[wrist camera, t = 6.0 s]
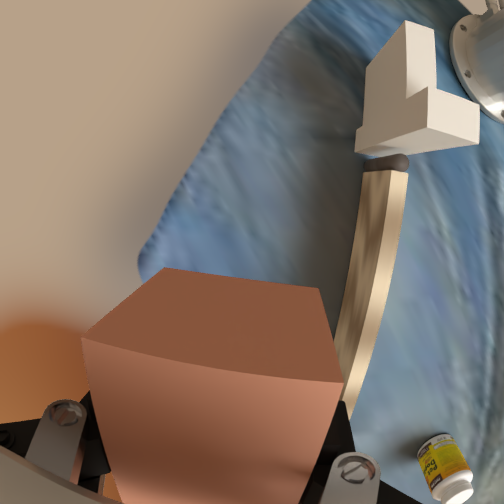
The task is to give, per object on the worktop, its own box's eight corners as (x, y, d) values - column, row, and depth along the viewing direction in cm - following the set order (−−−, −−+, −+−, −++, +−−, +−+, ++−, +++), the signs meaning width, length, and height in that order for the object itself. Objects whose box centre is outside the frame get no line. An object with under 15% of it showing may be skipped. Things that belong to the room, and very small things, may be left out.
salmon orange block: (164, 267, 10) (80, 337, 5) (318, 288, 10) (344, 383, 5) (168, 437, 12) (131, 522, 7) (280, 455, 12) (274, 550, 7)
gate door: (364, 158, 25) (393, 151, 18) (378, 160, 25) (410, 155, 18) (318, 398, 30) (325, 445, 23) (329, 399, 30) (339, 445, 23)
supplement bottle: (421, 437, 31) (446, 493, 21) (456, 428, 31) (486, 479, 21) (411, 463, 32) (431, 517, 22) (445, 454, 32) (469, 504, 22)
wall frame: (360, 66, 23) (421, -13, 10) (392, 74, 23) (470, 7, 10) (295, 446, 32) (298, 545, 19) (320, 447, 32) (331, 544, 19)
